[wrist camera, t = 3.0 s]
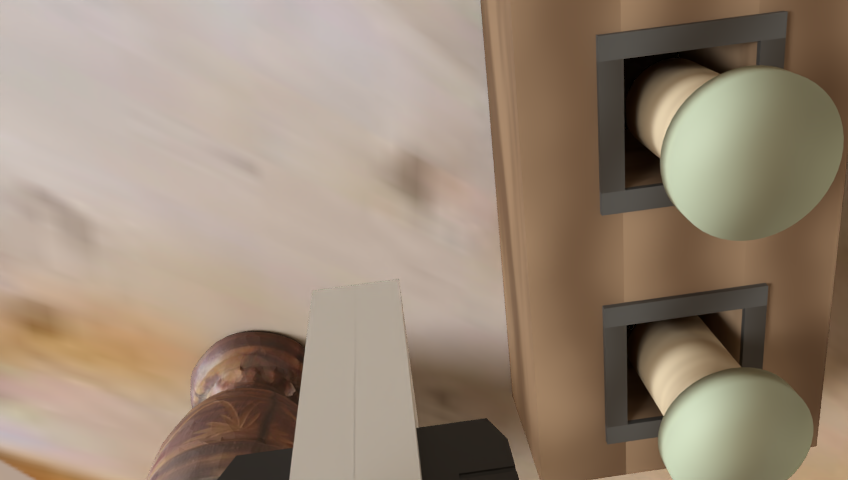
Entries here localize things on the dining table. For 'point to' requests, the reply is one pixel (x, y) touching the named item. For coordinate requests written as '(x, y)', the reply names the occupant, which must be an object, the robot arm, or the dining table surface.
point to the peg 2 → (717, 406)
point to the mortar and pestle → (235, 406)
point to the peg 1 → (737, 144)
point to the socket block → (640, 218)
